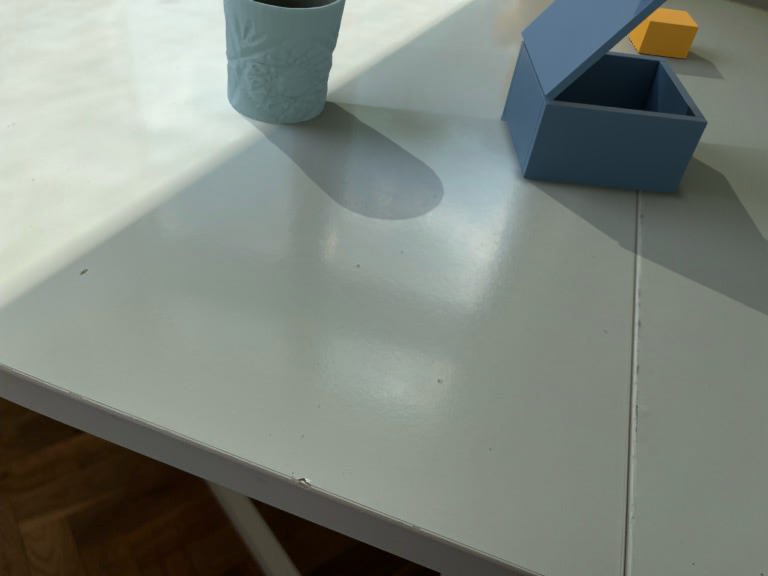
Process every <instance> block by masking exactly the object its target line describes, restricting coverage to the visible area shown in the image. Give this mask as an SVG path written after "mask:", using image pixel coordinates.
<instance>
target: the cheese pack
mask: <svg viewBox="0 0 768 576" xmlns="http://www.w3.org/2000/svg"><path fill="white" fill-rule="evenodd" d="M699 29H700V26H699V25H698V24H697V23H696V21H695V20H694V19H693V18H692V16H691V15H690V13H689V12H688V11H687V10H678V9H670V8H663V7H659V8H658V9H657V10H655V11H654V12H653V13H652V14H651V15H650V16H649V17H647V18H646V19H645V20H644V21H643V22H642V23H640V24H639V25H638V26H637V27H636V28H635V29H634V30H632V31H631V32H630V33H629V34H628V36H629V37H628V39H629V38H630V39H629V41H630V40H631V41H632V42H631V41H630V42H631V44H632V43H633V44H632V45H633V47H634V46H635V47H634V49H635V48H636V49H637V50H636V49H635V50H636V52H637V51H638V52H637V53H638V54H641V55H651V56H657V57H666V58H667V57H668V58H677V59H683V60H684V59H685V60H686V59H687V56H688V54H689V52H690V50H691V47H692V46H693V42H694V40H695V37H696V35H697V33H698V31H699Z"/></svg>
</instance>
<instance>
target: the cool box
mask: <svg viewBox="0 0 768 576" xmlns="http://www.w3.org/2000/svg"><path fill="white" fill-rule="evenodd" d="M500 121H502V122H506V124H507V127H508V131H509V134H510V137H511V141H512V145H513V148H514V151H515V154H516V158H517V161H518V164H519V168H520V171H521V175H522V178H523V179H526V180H527V179H528V180H537V181H538V180H539V181H549V182H559V183H567V184H577V185H586V186H587V185H588V186H596V187H597V186H598V187H606V188H607V187H609V188H616V189H617V188H618V189H627V190H637V191H645V192H646V191H648V192H655V193H656V192H657V193H667V194H675V193H676V191H677V189H678V187H679V185H680V184H681V181H682V179H683V177H684V174H685V172H686V170H687V168H688V166H689V164H690V161H691V160H692V157H693V155H694V153H695V151H696V149H697V147H698V144H699V142H700V140H701V139H702V136H703V134H704V132H705V130H706V128H707V125H708V123H709V122H708V120H707V119H706V117H705V116H704V115H703V112H702V111H701V110H700V108H699V107H698V105H697V104H696V102H695V100H694V99H693V98H692V96H691V95H690V93H689V92H688V90H687V88H686V87H685V85H684V84H683V82H682V81H681V79H680V78H679V77H678V75H677V74H676V72H675V70H674V69H673V68H672V66H671V64H670V63H669V62H668V60H667V59H666V58H665V57H661V56H653V55H651V56H649V55H645V54H635V53H626V52H617V51H611V50H609V51H608V52H607V53H606V54H605V55H604V56H603V57H601V58H600V59H599V60H598V61H597V62H596V63H595V64H593V65H592V66H591V67H590V68H589V69H588V70H586V71H585V72H584V73H583V74H582V75H581V76H580V77H578V78H577V79H576V80H575V81H574V82H573V83H572V84H570V85H569V86H568V87H567V88H566V89H565V90H564V91H562V92H561V93H560V94H559V95H558V96H557V97H555V98H554V99H553V100H552V101H550V100H549V99H548V98H547V97H546V96H545V94H544V92H543V89H542V86H541V84H540V81H539V79H538V76H537V73H536V71H535V68H534V66H533V63H532V60H531V58H530V55H529V52H528V50H527V47H526V45H525V42H524V40H522V41H521V44H520V47H519V51H518V54H517V58H516V62H515V65H514V70H513V73H512V77H511V80H510V84H509V87H508V92H507V95H506V99H505V103H504V106H503V110H502V114H501V118H500Z"/></svg>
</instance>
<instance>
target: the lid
mask: <svg viewBox="0 0 768 576" xmlns="http://www.w3.org/2000/svg"><path fill="white" fill-rule="evenodd" d="M667 1H668V0H553V2H551V4H549V6H547V7H546V8H545V9H544V10H543V11H542V12H541V13H540V14H539V15H538V16H537V17H536V18H535V19H534V20H533V21H531V23H529V24H528V25H527V26H526V27H525V28H524V29H523V30H522V31H521V33H520V34H521V37H522V39H523V41H524V42H525V45H526V47H527V50H528V52H529V55H530V58H531V60H532V63H533V66H534V68H535V71H536V73H537V76H538V79H539V81H540V84H541V86H542V89H543V92H544V94H545V96H546V97H547V98H548V99H549V100H550V101H552V100H553V99H554V98H555V97H557V96H558V95H559V94H560V93H561V92H562V91H564V90H565V89H566V88H567V87H568V86H569V85H570V84H572V83H573V82H574V81H575V80H576V79H577V78H578V77H580V76H581V75H582V74H583V73H584V72H585V71H586V70H588V69H589V68H590V67H591V66H592V65H593V64H595V63H596V62H597V61H598V60H599V59H600V58H601V57H603V56H604V55H605V54H606V53H607V52H608V51H611V50H612V49H613V48H615V46H616V45H618V44H619V43H620V42H621V41H623V39H625V38H626V37H628V36H629V33H630V32H631V31H632V30H634V29H635V28H636V27H637V26H638V25H639V24H640V23H642V22H643V21H644V20H645V19H646V18H647V17H649V16H650V15H651V14H652V13H653V12H654V11H655V10H657V9H658V8H661V7H662V6H663V5H664V4H665V3H666V2H667Z"/></svg>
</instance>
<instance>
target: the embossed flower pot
mask: <svg viewBox="0 0 768 576" xmlns="http://www.w3.org/2000/svg"><path fill="white" fill-rule="evenodd" d="M346 1H347V0H222V2H223V13H224V21H225V49H226V50H225V56H226V60H227V61H226V62H227V63H226V71H227V81H226V82H227V84H226V85H227V87H226V88H227V89H226V91H227V92H226V93H227V95H226V96H227V101H228V103H229V104H230V106H231V107H232V108H233V109H234V110H235V111H236V112H238V113H239V114H240V115H242V116H245V117H247V118H249V119H252V120H254V121H259V122H262V123H268V124H278V125H287V124H291V125H292V124H298V123H303V122H305V121H306V122H307V121H310V120H312V119H315V118H316V117H317V116H319V115H320V114H321V113H322V112H323V110H324V109H325V105H326V101H327V96H328V91H329V89H328V88H329V87H328V85H329V84H328V83H329V82H328V81H329V78H330V73H331V70H332V67H333V54H334V52H335V49H336V48H337V44H338V39H339V33H340V29H341V23H342V19H343V15H344V10H345V5H346Z"/></svg>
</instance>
